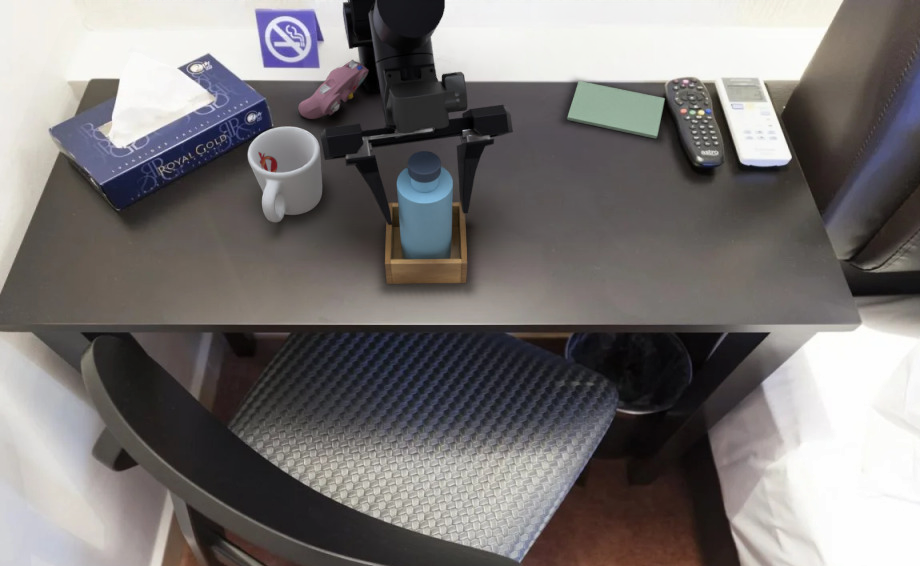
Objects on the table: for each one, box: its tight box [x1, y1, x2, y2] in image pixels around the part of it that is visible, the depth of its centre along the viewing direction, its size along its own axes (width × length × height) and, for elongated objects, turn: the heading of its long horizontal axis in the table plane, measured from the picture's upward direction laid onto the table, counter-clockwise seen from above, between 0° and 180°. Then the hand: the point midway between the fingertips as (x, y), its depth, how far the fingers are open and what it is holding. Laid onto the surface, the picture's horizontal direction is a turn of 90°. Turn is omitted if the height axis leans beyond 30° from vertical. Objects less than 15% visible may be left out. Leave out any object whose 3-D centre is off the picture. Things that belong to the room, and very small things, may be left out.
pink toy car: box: [298, 59, 369, 120], centre depth 88 cm, size 10×5×7 cm, turn 148°
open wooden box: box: [384, 201, 468, 285], centre depth 74 cm, size 9×9×4 cm
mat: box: [566, 80, 666, 140], centre depth 90 cm, size 12×8×1 cm, turn 73°
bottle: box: [396, 150, 454, 259], centre depth 70 cm, size 6×6×14 cm
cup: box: [247, 125, 323, 223], centre depth 77 cm, size 11×8×8 cm
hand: (427, 218), depth 69 cm, fingers open, 8 cm apart
